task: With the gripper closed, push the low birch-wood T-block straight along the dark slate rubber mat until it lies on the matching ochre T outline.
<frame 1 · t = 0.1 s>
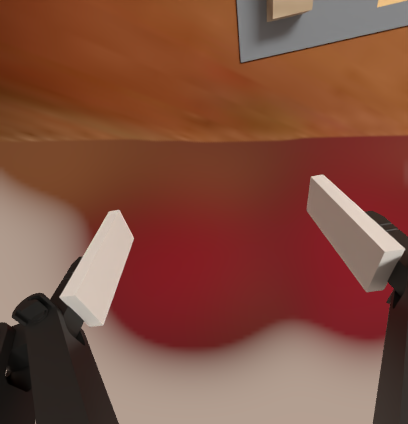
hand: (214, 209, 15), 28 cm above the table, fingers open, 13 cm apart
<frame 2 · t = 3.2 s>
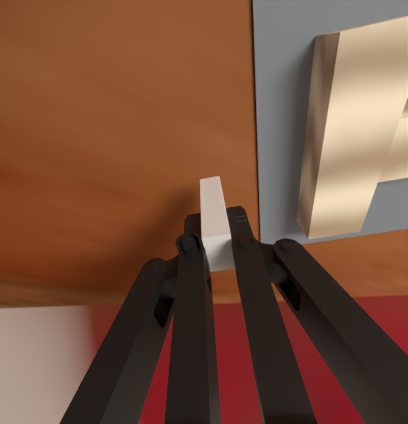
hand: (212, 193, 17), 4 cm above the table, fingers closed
t block: (332, 146, 18), resting on push mat
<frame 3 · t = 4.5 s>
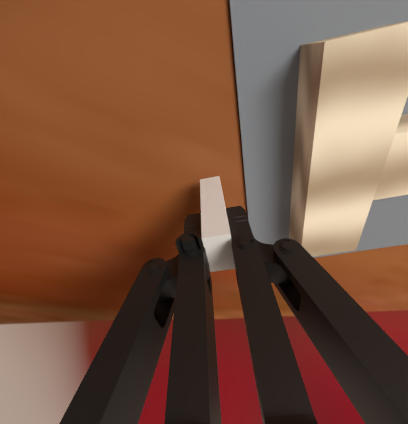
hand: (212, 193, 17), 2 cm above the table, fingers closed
t block: (324, 160, 17), resting on push mat
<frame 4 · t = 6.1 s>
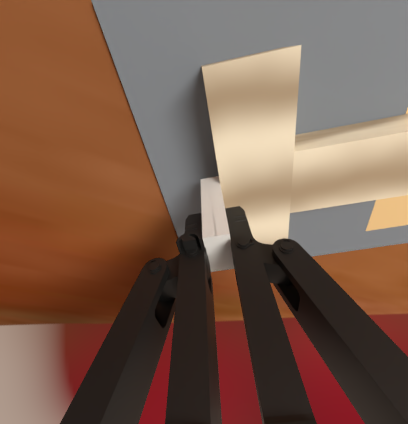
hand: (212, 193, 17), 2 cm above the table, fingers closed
push mat: (376, 147, 17), on the table
t block: (248, 173, 18), resting on push mat
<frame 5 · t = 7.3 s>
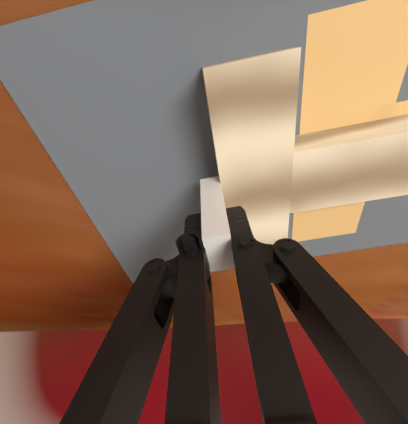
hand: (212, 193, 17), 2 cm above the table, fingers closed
push mat: (281, 165, 18), on the table
t block: (248, 173, 18), resting on push mat, touching gripper
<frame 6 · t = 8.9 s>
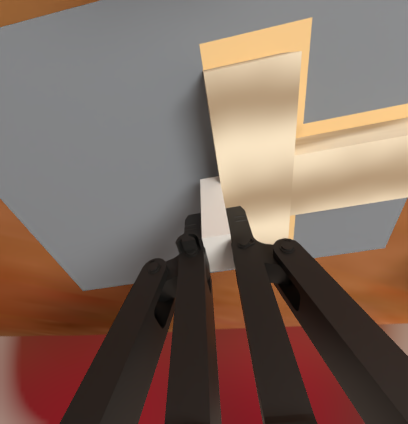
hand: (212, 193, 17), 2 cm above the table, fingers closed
push mat: (206, 181, 18), on the table
t block: (248, 176, 18), resting on push mat, touching gripper
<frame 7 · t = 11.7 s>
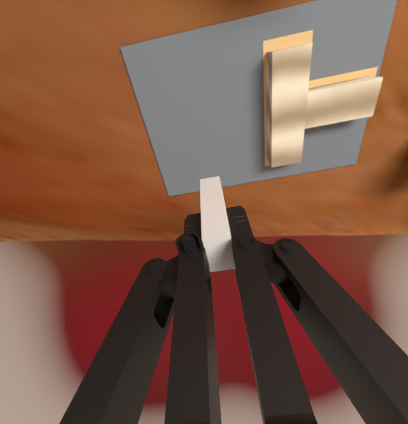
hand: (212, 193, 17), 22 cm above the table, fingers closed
push mat: (256, 114, 34), on the table
t block: (282, 110, 34), resting on push mat
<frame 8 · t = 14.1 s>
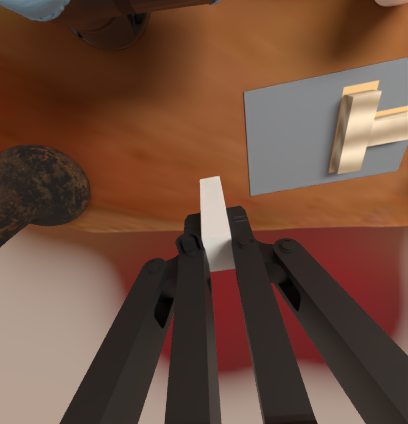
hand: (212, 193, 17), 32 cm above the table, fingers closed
push mat: (329, 135, 47), on the table
t block: (348, 133, 46), resting on push mat
dark mottled flask: (59, 173, 50), on the table
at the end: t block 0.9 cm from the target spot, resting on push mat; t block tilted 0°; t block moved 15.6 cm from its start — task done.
